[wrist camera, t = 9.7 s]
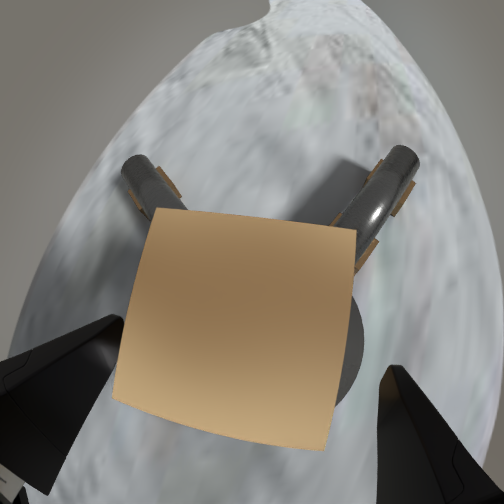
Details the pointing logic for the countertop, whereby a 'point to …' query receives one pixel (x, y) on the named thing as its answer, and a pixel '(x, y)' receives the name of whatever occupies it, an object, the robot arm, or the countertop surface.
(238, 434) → the block
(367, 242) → the shaft
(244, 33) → the countertop surface
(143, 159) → the shaft
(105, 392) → the countertop surface
